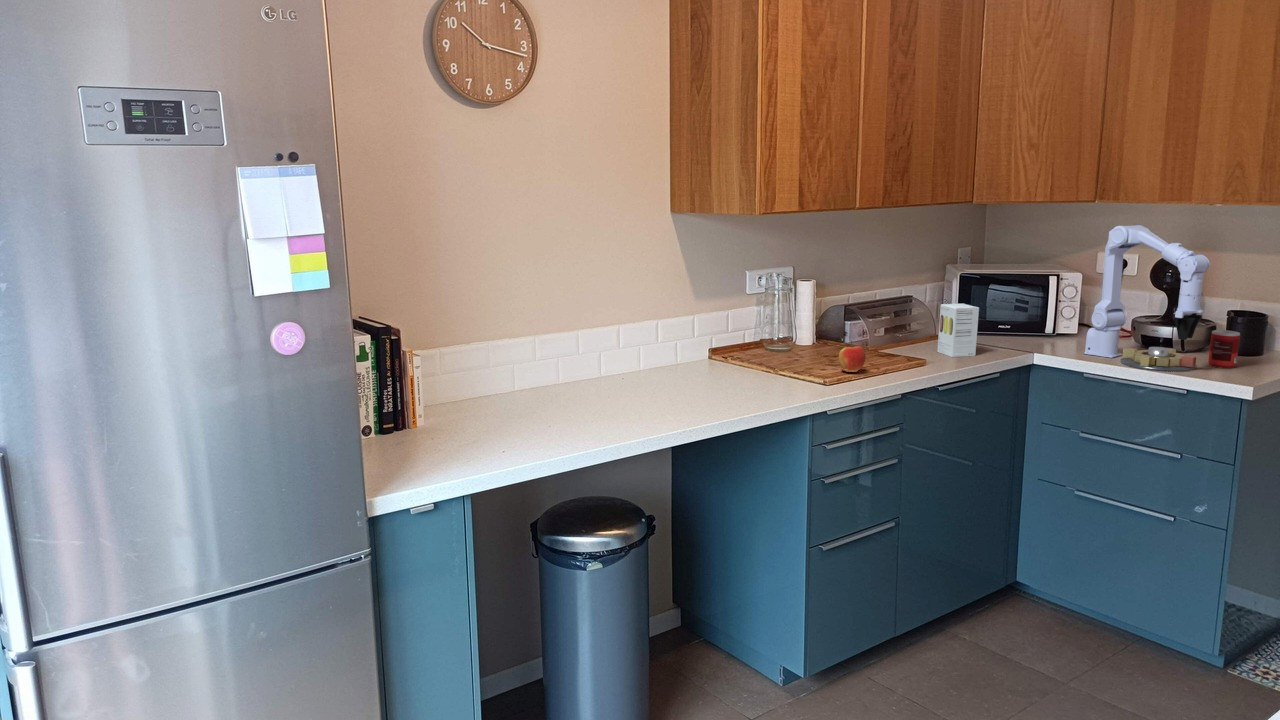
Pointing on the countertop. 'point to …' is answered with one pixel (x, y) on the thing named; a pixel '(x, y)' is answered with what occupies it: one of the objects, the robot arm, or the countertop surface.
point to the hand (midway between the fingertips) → (1185, 338)
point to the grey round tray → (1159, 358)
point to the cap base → (1156, 353)
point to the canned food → (1224, 348)
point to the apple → (852, 358)
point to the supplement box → (958, 330)
